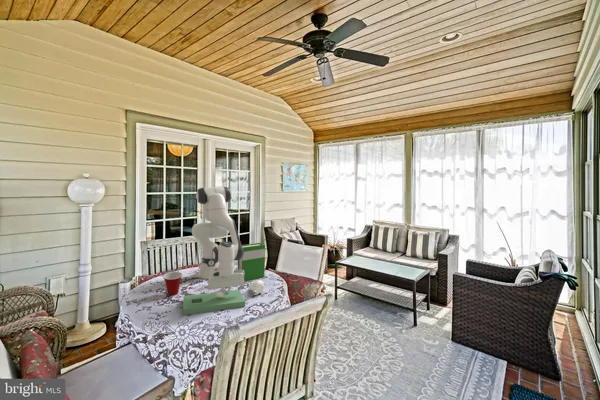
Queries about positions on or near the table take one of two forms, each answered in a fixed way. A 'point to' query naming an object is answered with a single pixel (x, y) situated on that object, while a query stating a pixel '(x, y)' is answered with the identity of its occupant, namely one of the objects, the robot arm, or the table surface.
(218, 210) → the robot arm
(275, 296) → the table surface
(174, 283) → the plastic cup
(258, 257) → the hardback book
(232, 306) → the green
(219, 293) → the ball
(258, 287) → the white snowman figurine
